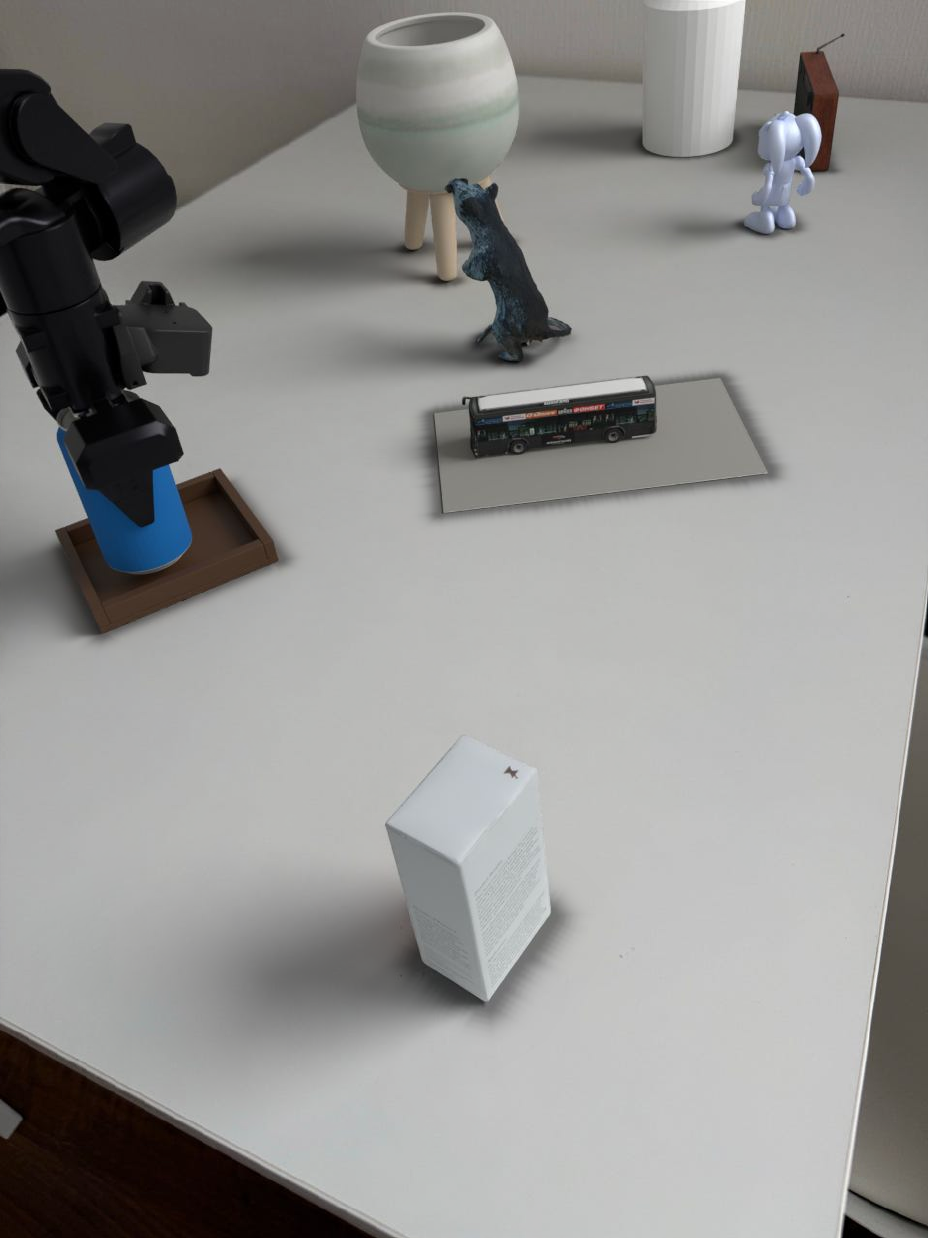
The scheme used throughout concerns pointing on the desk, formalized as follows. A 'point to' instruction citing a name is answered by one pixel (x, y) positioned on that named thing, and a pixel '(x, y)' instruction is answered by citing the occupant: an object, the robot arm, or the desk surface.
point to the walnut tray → (215, 556)
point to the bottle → (690, 74)
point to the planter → (437, 114)
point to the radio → (817, 100)
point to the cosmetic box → (473, 864)
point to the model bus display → (589, 441)
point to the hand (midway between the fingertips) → (133, 500)
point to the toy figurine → (783, 168)
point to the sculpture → (502, 272)
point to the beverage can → (118, 533)
